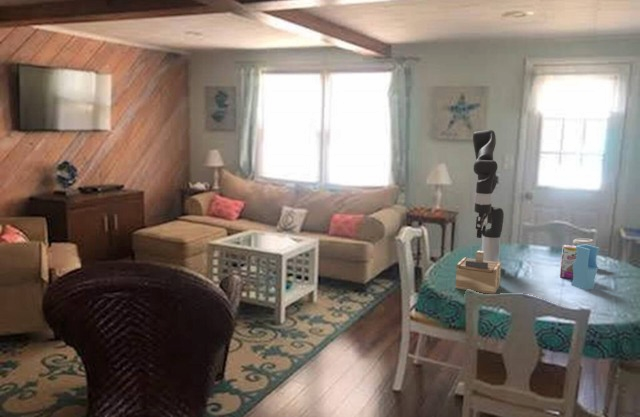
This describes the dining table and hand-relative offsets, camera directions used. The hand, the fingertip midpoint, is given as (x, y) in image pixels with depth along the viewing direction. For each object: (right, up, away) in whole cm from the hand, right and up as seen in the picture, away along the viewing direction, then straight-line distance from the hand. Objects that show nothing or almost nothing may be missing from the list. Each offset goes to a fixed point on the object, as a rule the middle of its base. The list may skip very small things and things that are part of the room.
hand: (481, 235), depth 261 cm
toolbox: (0, -25, +4) cm, 25 cm away
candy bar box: (+53, -23, +20) cm, 61 cm away
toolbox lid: (0, -15, +3) cm, 15 cm away
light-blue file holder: (+52, -25, +6) cm, 58 cm away
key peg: (0, -18, +3) cm, 18 cm away
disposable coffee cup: (+68, -19, +42) cm, 82 cm away
